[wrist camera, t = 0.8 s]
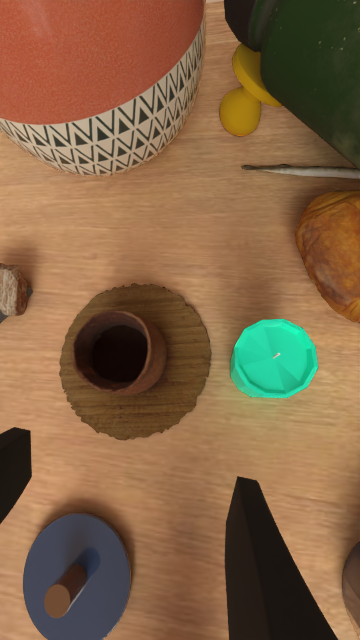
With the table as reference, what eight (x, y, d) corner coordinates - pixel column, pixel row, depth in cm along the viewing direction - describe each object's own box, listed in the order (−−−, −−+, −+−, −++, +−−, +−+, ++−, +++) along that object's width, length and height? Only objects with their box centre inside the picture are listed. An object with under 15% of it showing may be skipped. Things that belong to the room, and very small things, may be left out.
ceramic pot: (163, 472, 30) (146, 495, 23) (32, 391, 34) (-15, 390, 27) (237, 320, 33) (241, 300, 26) (108, 262, 37) (83, 232, 30)
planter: (102, 48, 47) (-41, -375, 21) (247, 97, 40) (294, -429, 15) (0, 171, 43) (-326, -161, 17) (142, 248, 37) (-45, -105, 11)
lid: (96, 668, 26) (73, 718, 22) (9, 591, 29) (-25, 624, 25) (153, 550, 28) (141, 577, 24) (66, 488, 31) (43, 502, 27)
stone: (3, 291, 40) (-31, 306, 36) (-7, 251, 37) (-46, 263, 33) (43, 305, 38) (11, 323, 34) (36, 265, 35) (0, 279, 31)
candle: (291, 350, 31) (333, 323, 20) (279, 405, 30) (316, 411, 18) (236, 336, 32) (245, 302, 21) (223, 388, 31) (224, 384, 20)
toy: (239, 175, 38) (242, 167, 39) (437, 190, 33) (433, 180, 34) (241, 163, 36) (243, 155, 37) (446, 177, 32) (443, 167, 33)
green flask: (370, 192, 23) (186, 35, 30) (399, 189, 30) (243, 61, 36) (539, 23, 16) (243, -136, 22) (528, 69, 22) (302, -64, 29)
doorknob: (300, 107, 33) (287, 58, 35) (243, 82, 30) (232, 30, 32) (259, 158, 40) (250, 114, 42) (208, 142, 36) (201, 95, 39)
